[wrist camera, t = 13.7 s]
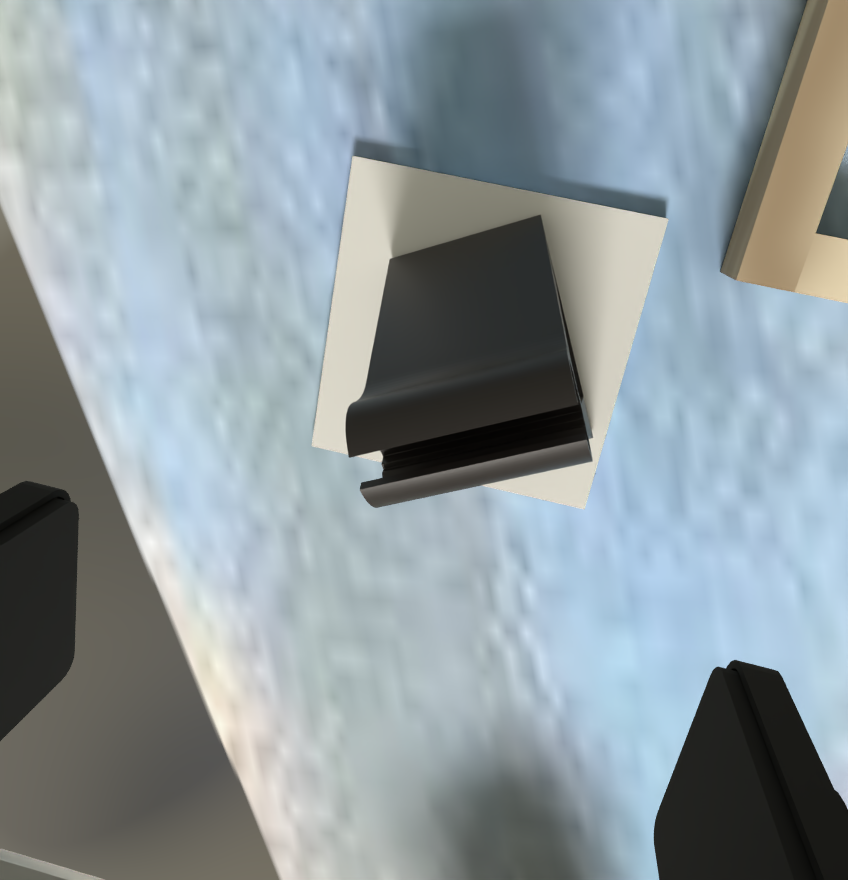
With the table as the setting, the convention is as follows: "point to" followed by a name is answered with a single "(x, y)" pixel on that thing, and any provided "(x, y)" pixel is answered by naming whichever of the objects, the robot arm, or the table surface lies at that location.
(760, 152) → the wooden frame
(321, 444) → the cream mat
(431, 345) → the phone stand
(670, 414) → the table surface
